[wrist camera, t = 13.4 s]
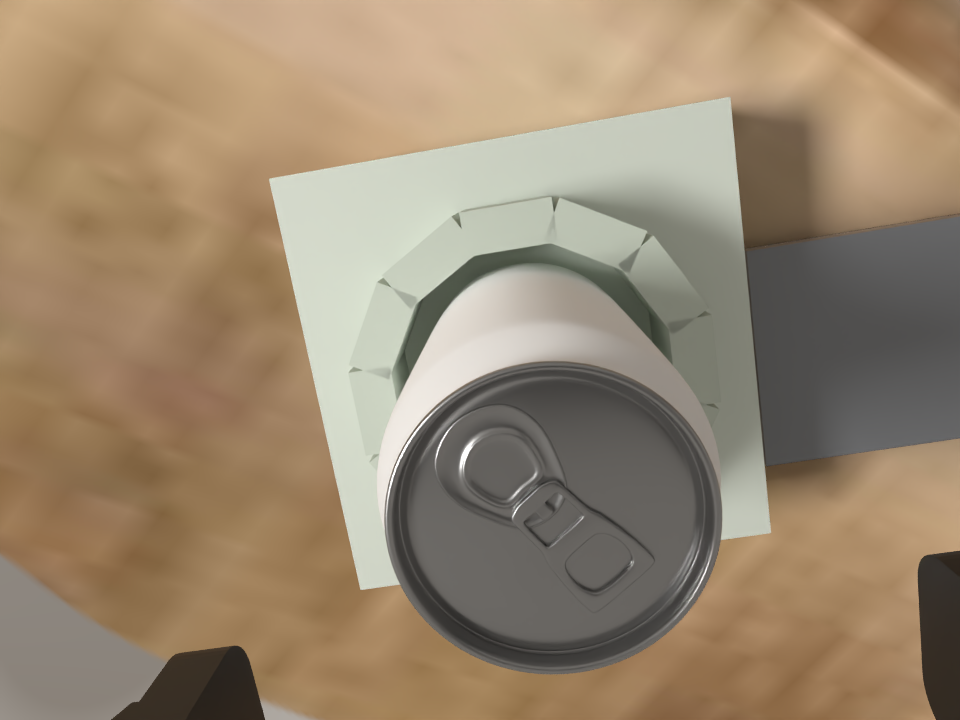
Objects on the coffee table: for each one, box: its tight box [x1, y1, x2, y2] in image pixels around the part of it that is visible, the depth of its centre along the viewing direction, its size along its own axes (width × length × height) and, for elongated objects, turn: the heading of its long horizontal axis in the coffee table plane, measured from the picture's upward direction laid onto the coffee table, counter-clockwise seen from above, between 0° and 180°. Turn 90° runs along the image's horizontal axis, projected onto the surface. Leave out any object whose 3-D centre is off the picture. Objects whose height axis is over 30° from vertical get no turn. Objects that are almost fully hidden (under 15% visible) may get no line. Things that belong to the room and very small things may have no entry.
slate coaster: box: [744, 214, 960, 466], centre depth 27 cm, size 8×8×1 cm
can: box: [377, 263, 722, 674], centre depth 18 cm, size 6×6×12 cm
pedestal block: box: [269, 97, 771, 590], centre depth 25 cm, size 14×14×7 cm
